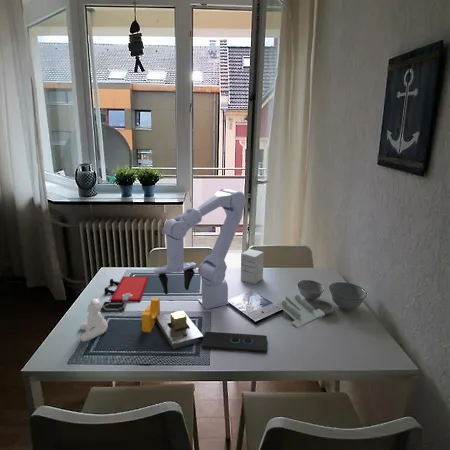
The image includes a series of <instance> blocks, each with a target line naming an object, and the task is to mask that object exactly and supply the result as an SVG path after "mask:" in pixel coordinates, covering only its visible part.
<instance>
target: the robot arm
mask: <svg viewBox="0 0 450 450" xmlns="http://www.w3.org/2000/svg"><path fill="white" fill-rule="evenodd" d="M246 204H247V199H246V196H245V194H244V193H243V192H242V191H237V190H233V189H228V188H227V187H222V188H220V189H219V190H218V191H215V193H214V195H213V196H212V197H210V198H209V199H208V200H206V201H204V202H203V203H201V205H199V206H198V207H196V208H195V207H191V208H190V207H188V208H186V209H185V210H186V211H184V212H183V213H181V214H179V215H177V216H175V218H171V219H167V221H165V223H164V225H163V227H162V232H163V234H164V235H165V239H166V241H165V242H166V243H165V244H166V265H164V266H161V267H158V268H154V272H153V273H154V276H155V277H158V279H159V281H160V284H161V286H162V288H163V293H164V295H168V293H169V289H168V280H169V277H168V275H167V274H172V273H173V274H174V273H182V272H183V276H184V277H183V279H184V282H183V283H184V289H185V290H186V291H189V289H190V285H191V282H192V279H193V277H194V276H195V272H196V271H195V270H197V273H198V275H199V276H200V278H201V279H200V280H201V298H198V299H197V301H198V302H199V303H200V304H201V305H202V306H203V307H204V308H205V309H206V310H208V309H214V308H216V307H217V308H218V307H222V306H225V305H226V306H227V305H228V304H229V286H228V283H227V281H226V279H225V278H226V271H227V268H228V267H227V264H226V261H225V259H226V257H227V255H228V252H229V250H230V248H231V245H232V242H233V240H234V238H235V235H236V232H237V230H238V228H239V226H240V224H241V222H242V221H241V220H242V218H243V216H244V208H245V206H246ZM218 208H222V209H223V210H224V213H225V215H226V216H225V219H224V222H223V224H222V225H221V229H220V231H219V234H218V236H217V238H216V241H215V244H214V246H213V248H212V250H211V252H210V254H208V255H206V256H205V257H204V259H203V261H202V262H201V263H200V264H199V266H198V269H197V263H195V262H185V259H184V258H185V256H184V255H185V253H184V251H185V249H184V248H185V247H184V246H185V245H184V238H185V237H186V235H187V233H188V232H189V230H190V229H192V228H194V227H196V225H198V224H199V223H201V222H202V218H203V217H205V216H206V215H207V214H209V213H211V212H213V211H215V210H216V209H218Z"/></svg>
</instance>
